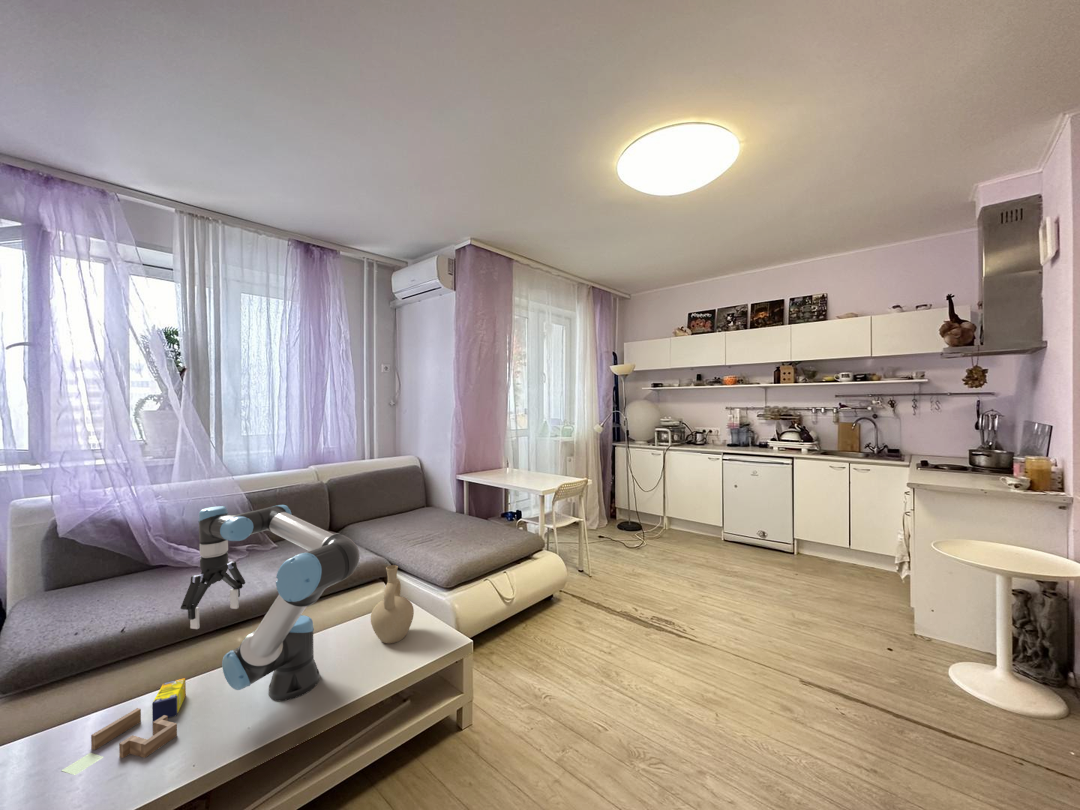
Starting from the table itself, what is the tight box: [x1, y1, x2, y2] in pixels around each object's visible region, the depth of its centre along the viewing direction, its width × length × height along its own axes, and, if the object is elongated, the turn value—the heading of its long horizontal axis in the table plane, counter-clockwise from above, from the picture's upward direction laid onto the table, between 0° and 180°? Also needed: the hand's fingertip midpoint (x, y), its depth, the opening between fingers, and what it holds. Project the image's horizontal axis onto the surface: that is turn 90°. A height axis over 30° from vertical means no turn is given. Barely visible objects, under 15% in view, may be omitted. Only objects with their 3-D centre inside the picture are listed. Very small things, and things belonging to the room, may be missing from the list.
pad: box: [61, 752, 104, 776], centre depth 114 cm, size 10×6×1 cm, turn 74°
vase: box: [370, 564, 415, 644], centre depth 174 cm, size 17×17×30 cm
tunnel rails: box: [90, 707, 178, 759], centre depth 123 cm, size 19×11×4 cm, turn 74°
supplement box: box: [151, 677, 187, 723], centre depth 136 cm, size 6×6×11 cm
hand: (215, 617), depth 141 cm, fingers open, 13 cm apart
